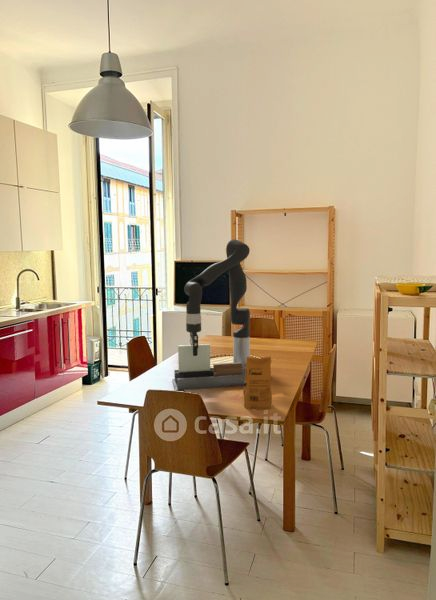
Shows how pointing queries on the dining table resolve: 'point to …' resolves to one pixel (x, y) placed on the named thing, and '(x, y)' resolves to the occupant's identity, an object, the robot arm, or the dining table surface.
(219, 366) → the offcut bundle
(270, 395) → the coffee package
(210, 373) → the rack
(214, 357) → the dining table surface
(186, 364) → the tall sheet
